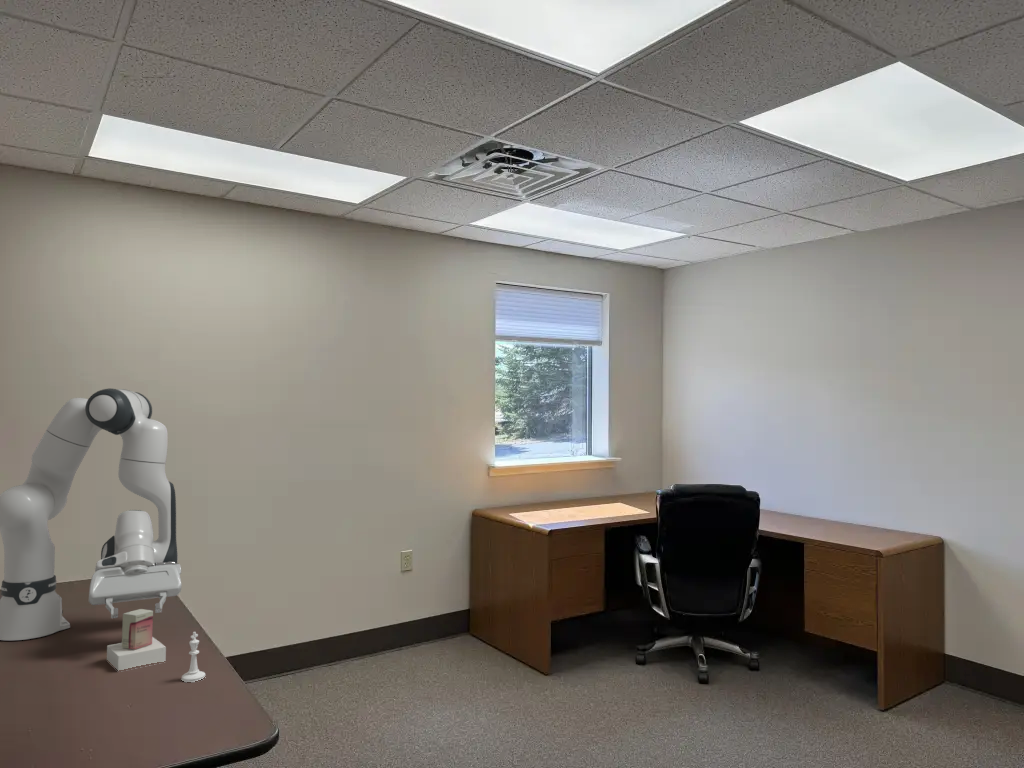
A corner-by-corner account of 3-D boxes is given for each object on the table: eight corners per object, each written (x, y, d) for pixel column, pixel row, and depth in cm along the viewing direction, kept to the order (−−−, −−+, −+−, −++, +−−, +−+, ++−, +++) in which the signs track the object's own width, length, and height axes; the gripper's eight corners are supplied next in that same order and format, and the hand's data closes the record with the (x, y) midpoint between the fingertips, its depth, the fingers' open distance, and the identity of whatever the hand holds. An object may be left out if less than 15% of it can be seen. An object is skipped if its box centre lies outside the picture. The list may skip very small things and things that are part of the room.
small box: (134, 650, 168) (135, 615, 169) (121, 647, 170) (122, 613, 170) (153, 644, 173) (154, 610, 173) (139, 641, 175) (140, 608, 175)
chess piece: (210, 676, 162) (211, 630, 162) (194, 683, 158) (195, 636, 158) (192, 673, 164) (193, 627, 164) (175, 681, 159) (176, 634, 159)
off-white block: (106, 662, 172) (107, 645, 172) (152, 653, 178) (152, 636, 179) (118, 674, 164) (118, 656, 164) (165, 664, 171) (166, 647, 171)
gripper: (179, 567, 192) (183, 615, 183) (89, 576, 182) (88, 627, 173) (181, 553, 188) (185, 601, 179) (89, 561, 178) (88, 612, 169)
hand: (136, 614), depth 176 cm, fingers open, 8 cm apart
